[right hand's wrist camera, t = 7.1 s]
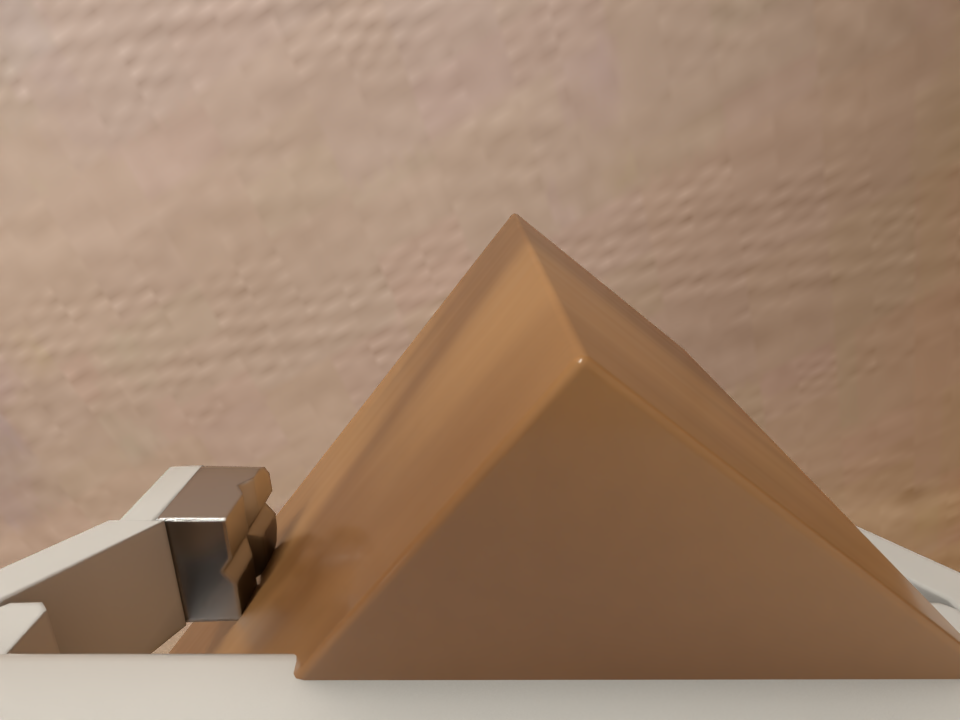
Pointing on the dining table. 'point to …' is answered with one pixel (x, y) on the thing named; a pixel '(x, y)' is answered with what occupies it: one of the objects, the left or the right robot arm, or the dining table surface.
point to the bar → (569, 516)
